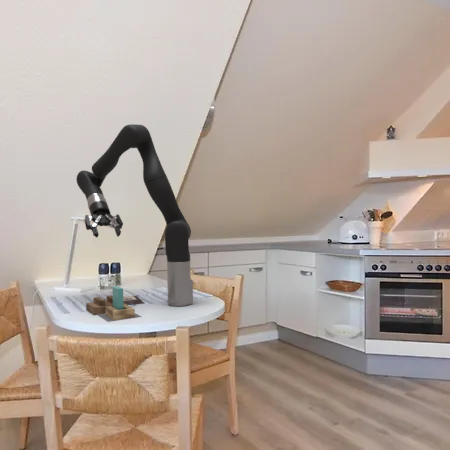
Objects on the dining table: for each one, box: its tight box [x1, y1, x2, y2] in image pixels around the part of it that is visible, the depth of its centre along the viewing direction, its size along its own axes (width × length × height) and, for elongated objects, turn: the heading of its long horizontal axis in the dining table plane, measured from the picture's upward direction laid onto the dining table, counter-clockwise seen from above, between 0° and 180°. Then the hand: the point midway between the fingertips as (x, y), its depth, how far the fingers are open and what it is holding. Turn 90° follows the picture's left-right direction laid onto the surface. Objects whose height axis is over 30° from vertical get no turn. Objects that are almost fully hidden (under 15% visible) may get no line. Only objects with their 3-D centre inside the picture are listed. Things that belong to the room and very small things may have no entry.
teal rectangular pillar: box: [111, 285, 124, 310], centre depth 153 cm, size 2×6×10 cm, turn 33°
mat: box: [97, 312, 142, 323], centre depth 153 cm, size 12×12×1 cm
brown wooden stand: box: [85, 294, 126, 316], centre depth 162 cm, size 12×10×5 cm
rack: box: [105, 304, 136, 321], centre depth 153 cm, size 7×9×3 cm
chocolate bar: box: [123, 295, 146, 306], centre depth 180 cm, size 9×1×18 cm
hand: (108, 235), depth 169 cm, fingers open, 8 cm apart
